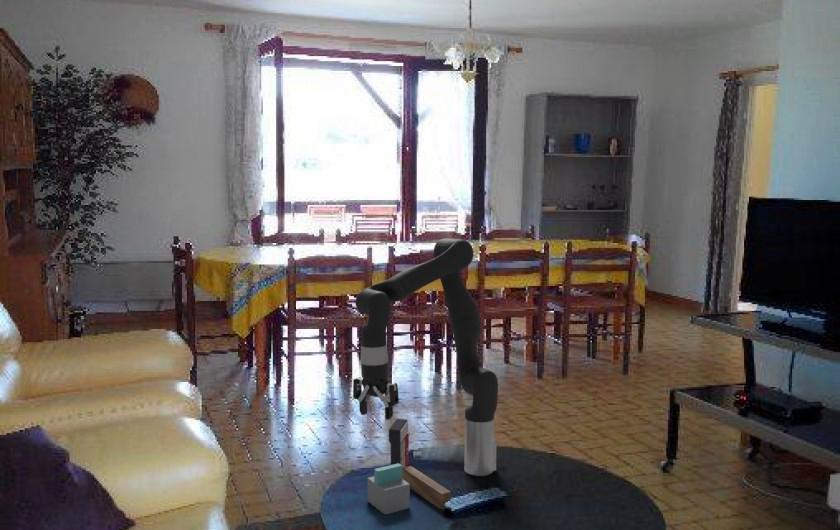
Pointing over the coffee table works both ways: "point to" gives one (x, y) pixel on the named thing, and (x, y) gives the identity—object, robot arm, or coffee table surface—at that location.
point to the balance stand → (389, 489)
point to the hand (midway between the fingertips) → (376, 416)
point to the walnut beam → (426, 487)
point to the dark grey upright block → (399, 442)
